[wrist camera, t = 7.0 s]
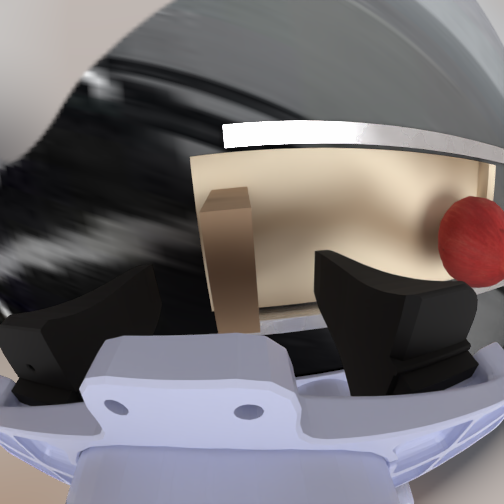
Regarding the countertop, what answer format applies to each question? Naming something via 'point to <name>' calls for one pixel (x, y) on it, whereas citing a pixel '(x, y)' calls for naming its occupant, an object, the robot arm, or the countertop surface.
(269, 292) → the cream shallow tray
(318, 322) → the guide rails
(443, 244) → the onion
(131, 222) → the countertop surface
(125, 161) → the countertop surface
